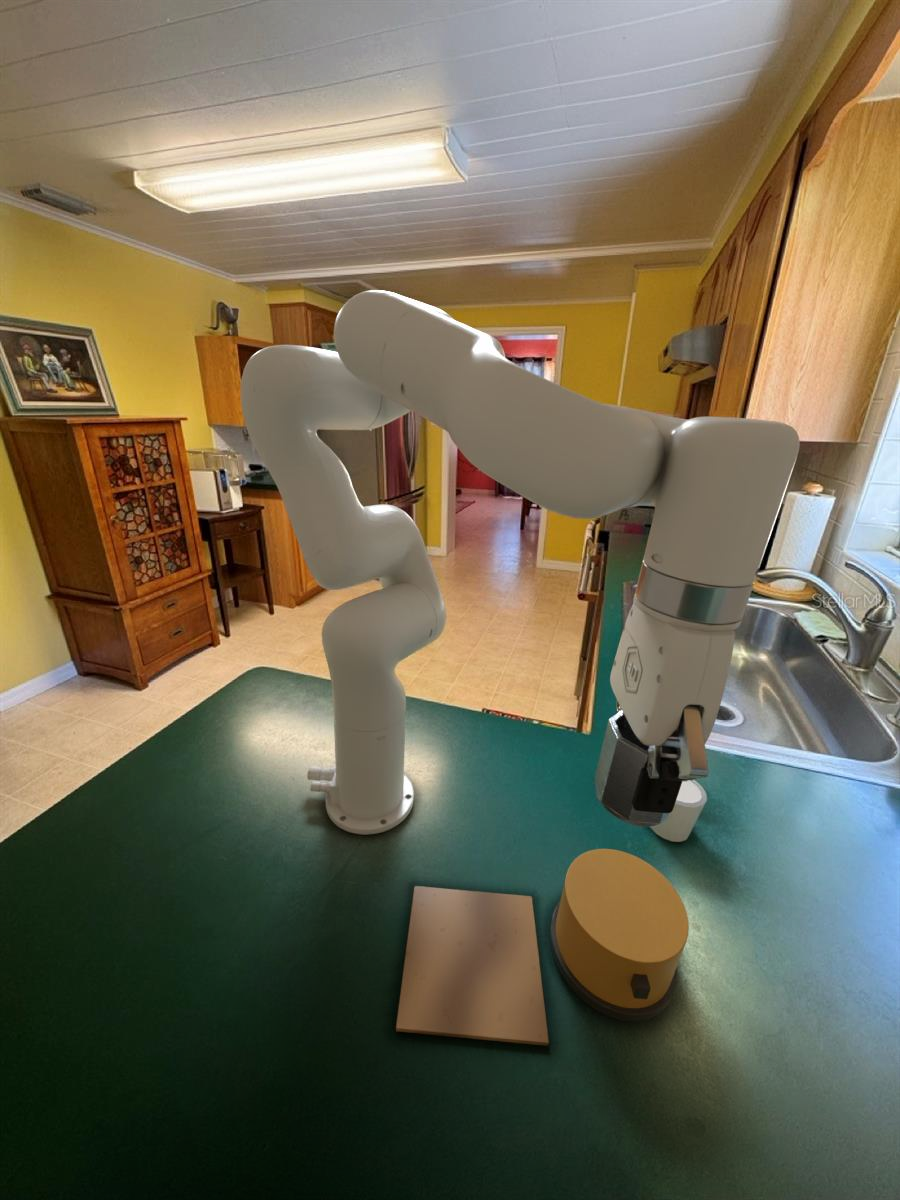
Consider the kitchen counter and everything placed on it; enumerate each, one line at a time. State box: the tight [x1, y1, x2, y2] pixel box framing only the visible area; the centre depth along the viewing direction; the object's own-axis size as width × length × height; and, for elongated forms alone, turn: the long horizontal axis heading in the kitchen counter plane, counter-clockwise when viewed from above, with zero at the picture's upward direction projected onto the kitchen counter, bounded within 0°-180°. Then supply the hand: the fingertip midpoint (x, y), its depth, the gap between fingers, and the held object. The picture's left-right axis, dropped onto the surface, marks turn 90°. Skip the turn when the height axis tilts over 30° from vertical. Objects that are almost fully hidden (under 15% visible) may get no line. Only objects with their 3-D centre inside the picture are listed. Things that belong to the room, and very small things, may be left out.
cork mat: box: [395, 885, 550, 1047], centre depth 49 cm, size 14×14×1 cm
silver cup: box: [593, 710, 679, 828], centre depth 42 cm, size 6×6×8 cm
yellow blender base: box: [549, 848, 690, 1023], centre depth 50 cm, size 13×14×8 cm
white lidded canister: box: [649, 779, 708, 843], centre depth 66 cm, size 7×7×7 cm
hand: (637, 776), depth 42 cm, fingers closed on silver cup, 6 cm apart
